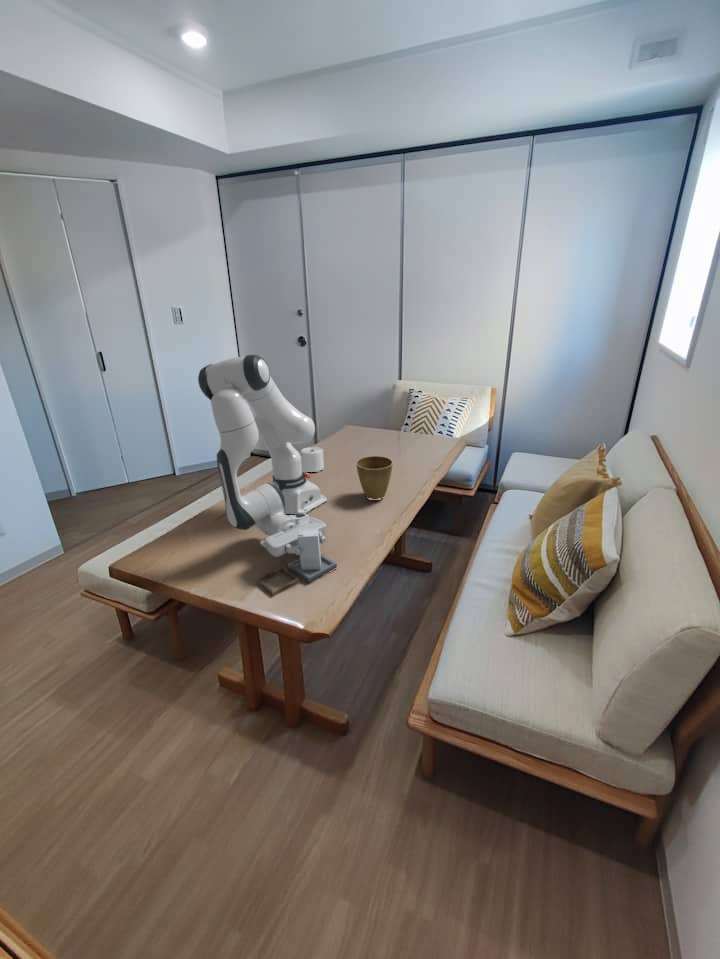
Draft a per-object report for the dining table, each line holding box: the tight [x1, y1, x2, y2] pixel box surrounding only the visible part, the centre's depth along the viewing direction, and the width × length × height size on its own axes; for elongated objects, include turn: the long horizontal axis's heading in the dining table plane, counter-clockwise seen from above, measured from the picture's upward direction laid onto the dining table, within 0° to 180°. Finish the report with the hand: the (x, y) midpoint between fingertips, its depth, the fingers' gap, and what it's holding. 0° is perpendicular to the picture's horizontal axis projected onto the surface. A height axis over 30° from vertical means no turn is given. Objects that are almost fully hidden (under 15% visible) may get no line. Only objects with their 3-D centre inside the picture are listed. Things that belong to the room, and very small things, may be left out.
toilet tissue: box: [299, 446, 325, 472], centre depth 206 cm, size 11×12×10 cm
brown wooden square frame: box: [255, 566, 300, 597], centre depth 125 cm, size 9×9×1 cm
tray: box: [287, 553, 338, 585], centre depth 131 cm, size 11×11×2 cm
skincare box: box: [298, 530, 322, 570], centre depth 128 cm, size 6×4×12 cm
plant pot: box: [355, 455, 393, 499], centre depth 175 cm, size 15×15×16 cm
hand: (312, 546), depth 127 cm, fingers open, 8 cm apart
